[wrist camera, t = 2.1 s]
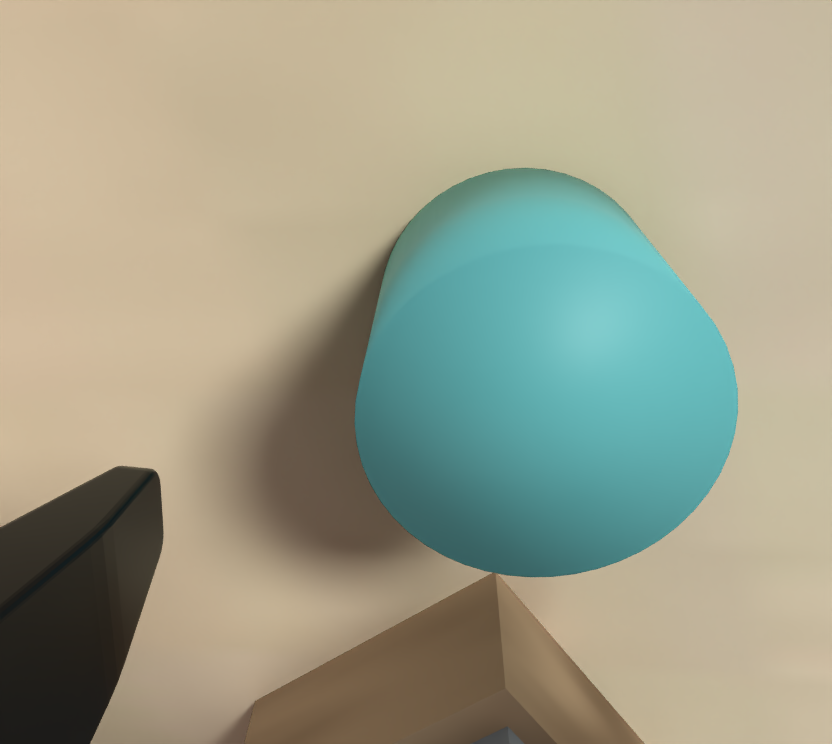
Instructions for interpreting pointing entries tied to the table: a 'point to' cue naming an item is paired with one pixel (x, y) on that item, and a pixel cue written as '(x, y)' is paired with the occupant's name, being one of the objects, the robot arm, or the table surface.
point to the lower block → (446, 684)
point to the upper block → (500, 738)
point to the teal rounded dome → (539, 381)
